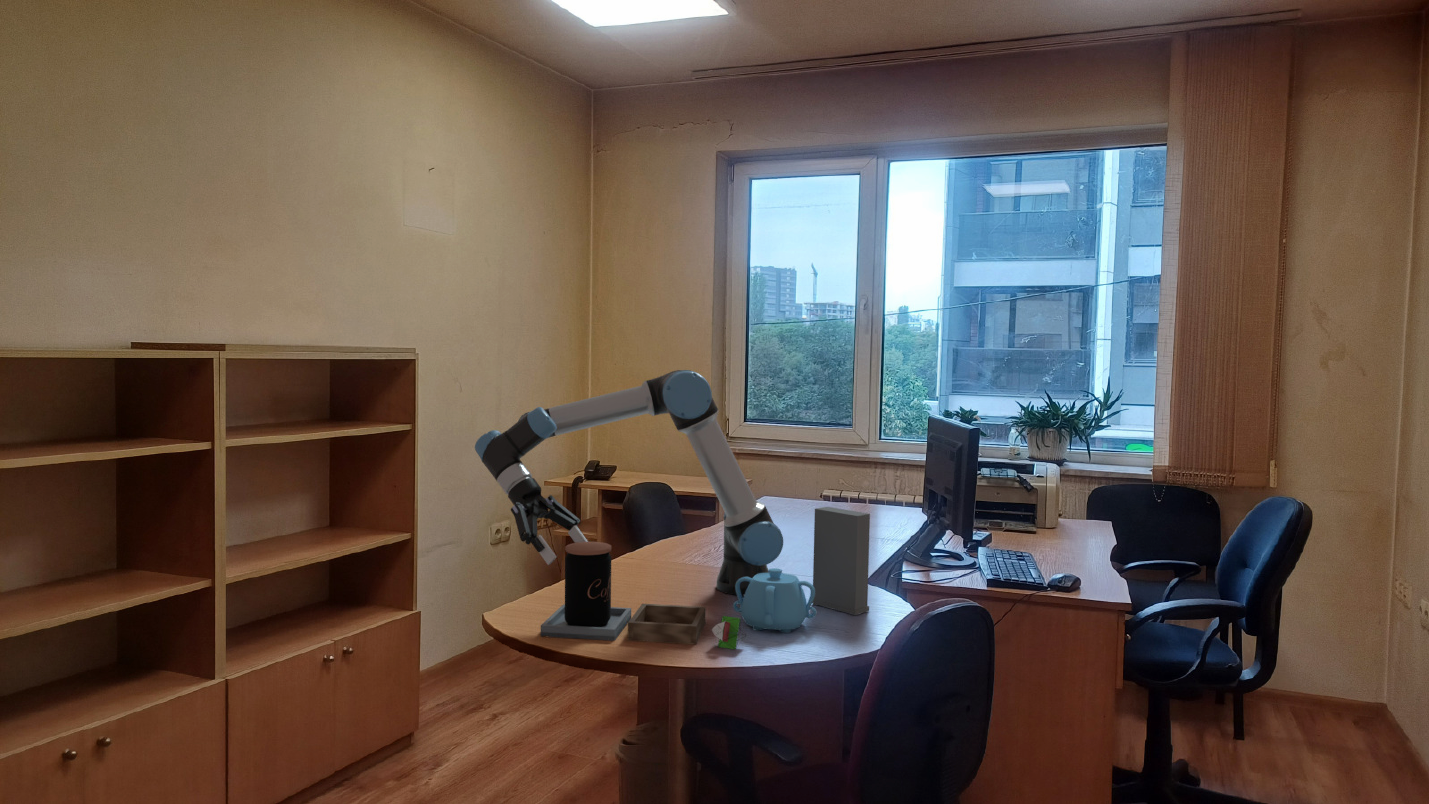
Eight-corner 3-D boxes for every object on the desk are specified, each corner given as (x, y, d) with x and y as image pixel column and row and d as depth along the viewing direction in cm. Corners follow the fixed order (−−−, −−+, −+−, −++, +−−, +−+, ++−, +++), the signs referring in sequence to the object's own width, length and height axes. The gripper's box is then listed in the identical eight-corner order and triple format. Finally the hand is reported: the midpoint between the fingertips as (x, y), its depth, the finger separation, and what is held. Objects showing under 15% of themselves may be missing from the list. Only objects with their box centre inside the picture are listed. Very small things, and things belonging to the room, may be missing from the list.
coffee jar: (590, 632, 194) (591, 553, 193) (554, 624, 200) (555, 547, 199) (619, 621, 203) (620, 545, 202) (585, 613, 209) (585, 539, 208)
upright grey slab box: (869, 611, 218) (872, 513, 217) (855, 616, 214) (857, 516, 213) (826, 600, 228) (828, 506, 227) (811, 604, 224) (814, 508, 223)
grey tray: (631, 618, 209) (631, 608, 209) (614, 640, 192) (614, 629, 192) (563, 614, 211) (563, 604, 211) (540, 636, 194) (540, 625, 194)
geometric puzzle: (723, 628, 195) (715, 605, 191) (752, 632, 193) (744, 609, 188) (713, 655, 190) (705, 632, 186) (742, 659, 188) (735, 636, 183)
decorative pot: (787, 613, 216) (788, 559, 215) (821, 631, 201) (822, 573, 201) (728, 620, 209) (729, 564, 208) (759, 640, 194) (760, 580, 194)
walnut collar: (705, 623, 206) (705, 606, 206) (696, 644, 190) (696, 626, 190) (641, 620, 208) (642, 603, 207) (627, 640, 192) (627, 622, 192)
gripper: (543, 489, 221) (591, 554, 215) (475, 503, 198) (527, 576, 192) (560, 470, 218) (609, 536, 212) (493, 482, 196) (546, 555, 190)
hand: (570, 555), depth 202 cm, fingers open, 13 cm apart
